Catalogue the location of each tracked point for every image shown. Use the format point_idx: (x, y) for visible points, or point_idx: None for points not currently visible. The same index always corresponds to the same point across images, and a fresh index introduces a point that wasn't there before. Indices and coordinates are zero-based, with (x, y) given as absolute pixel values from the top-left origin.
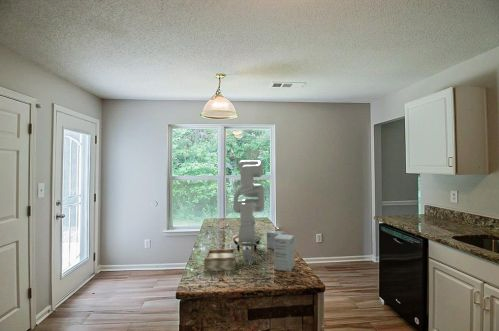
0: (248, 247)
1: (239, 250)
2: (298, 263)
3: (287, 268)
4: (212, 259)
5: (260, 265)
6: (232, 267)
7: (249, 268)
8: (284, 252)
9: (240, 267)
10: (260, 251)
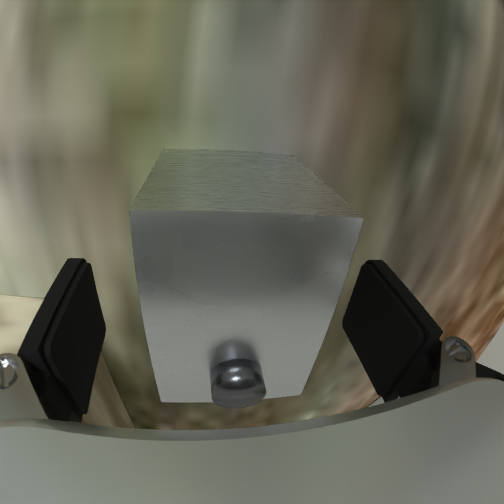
0: (280, 314)
1: (99, 350)
2: (483, 341)
3: None
4: None
5: (307, 395)
6: None
7: (224, 425)
8: None
9: (164, 416)
10: (440, 25)
